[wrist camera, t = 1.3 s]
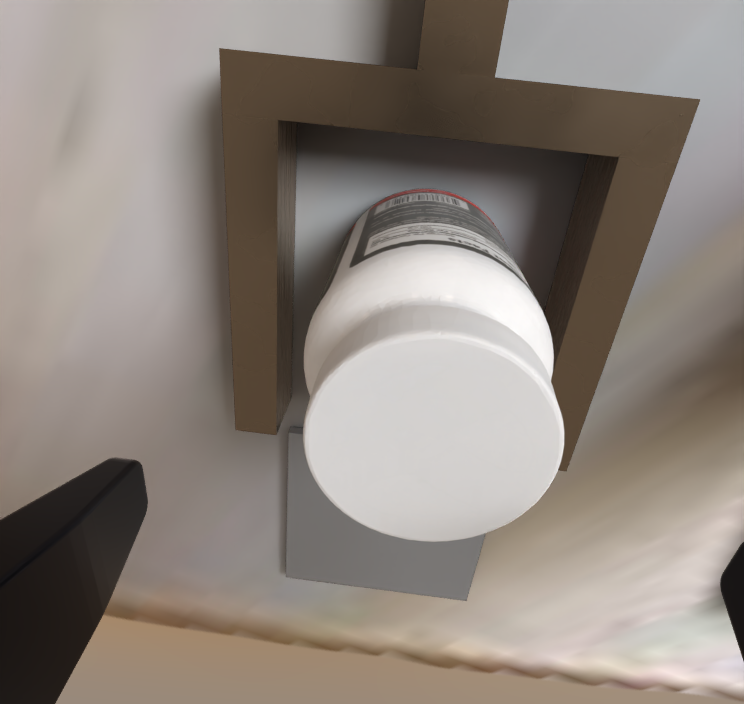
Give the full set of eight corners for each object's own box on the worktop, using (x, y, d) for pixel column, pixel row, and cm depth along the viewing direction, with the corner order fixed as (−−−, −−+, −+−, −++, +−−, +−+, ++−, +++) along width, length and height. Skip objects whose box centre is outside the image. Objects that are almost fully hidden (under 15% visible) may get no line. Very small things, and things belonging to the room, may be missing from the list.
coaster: (505, 453, 21) (506, 459, 21) (465, 593, 26) (466, 600, 25) (290, 426, 22) (288, 432, 21) (287, 570, 26) (285, 577, 26)
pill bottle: (424, 369, 20) (430, 601, 11) (308, 274, 18) (209, 455, 10) (541, 263, 17) (665, 451, 9) (419, 144, 16) (422, 228, 7)
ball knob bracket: (795, -327, 11) (890, -429, 9) (550, 429, 21) (566, 471, 18) (239, -375, 11) (196, -485, 9) (254, 392, 21) (235, 430, 19)
